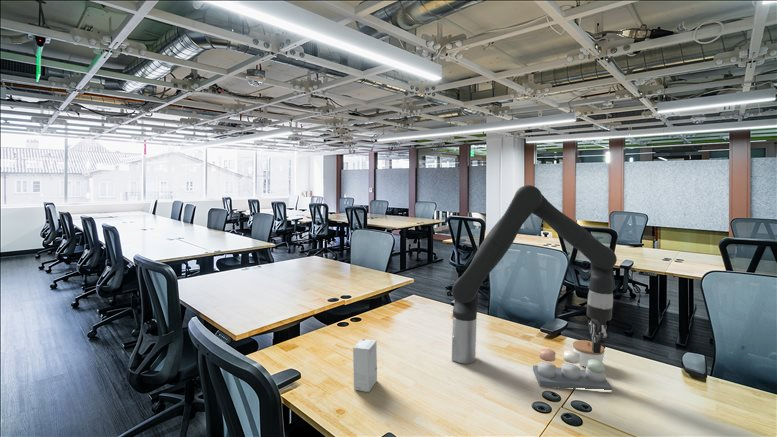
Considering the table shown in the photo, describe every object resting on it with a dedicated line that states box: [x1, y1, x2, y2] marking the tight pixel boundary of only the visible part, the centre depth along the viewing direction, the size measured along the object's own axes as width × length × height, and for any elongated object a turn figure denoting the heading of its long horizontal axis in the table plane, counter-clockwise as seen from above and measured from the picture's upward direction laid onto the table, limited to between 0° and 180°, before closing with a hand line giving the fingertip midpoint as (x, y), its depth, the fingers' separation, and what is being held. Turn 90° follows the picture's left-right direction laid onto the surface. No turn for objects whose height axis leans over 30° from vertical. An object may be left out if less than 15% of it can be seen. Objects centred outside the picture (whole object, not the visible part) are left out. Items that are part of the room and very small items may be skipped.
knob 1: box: [539, 348, 556, 363], centre depth 130 cm, size 5×5×2 cm
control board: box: [532, 361, 613, 391], centre depth 129 cm, size 23×11×5 cm, turn 80°
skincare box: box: [352, 338, 378, 393], centre depth 126 cm, size 8×6×15 cm
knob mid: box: [563, 349, 580, 365], centre depth 129 cm, size 5×5×2 cm
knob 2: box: [587, 359, 605, 373], centre depth 128 cm, size 5×5×2 cm
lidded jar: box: [572, 339, 605, 368], centre depth 141 cm, size 11×11×9 cm
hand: (596, 352), depth 127 cm, fingers closed
